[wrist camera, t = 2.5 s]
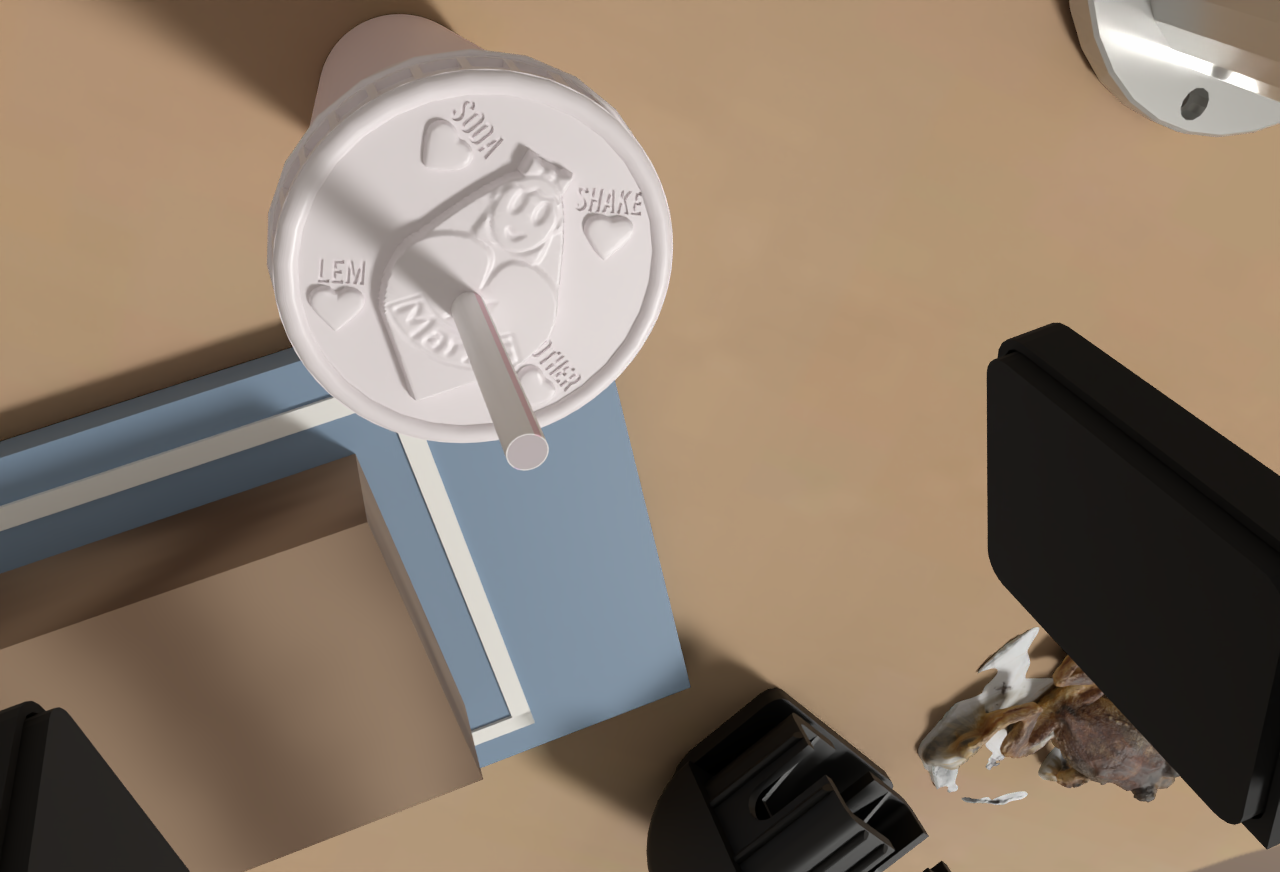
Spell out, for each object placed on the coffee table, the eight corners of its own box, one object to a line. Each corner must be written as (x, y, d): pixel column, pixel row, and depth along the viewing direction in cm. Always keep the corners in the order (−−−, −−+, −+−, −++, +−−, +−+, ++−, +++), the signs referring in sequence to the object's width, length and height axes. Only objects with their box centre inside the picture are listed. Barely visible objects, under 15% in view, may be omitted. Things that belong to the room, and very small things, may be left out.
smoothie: (204, 156, 24) (188, 538, 13) (334, -119, 22) (446, 57, 11) (459, 275, 28) (619, 660, 17) (593, 44, 26) (880, 306, 14)
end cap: (617, 796, 40) (678, 964, 35) (765, 675, 39) (851, 829, 34) (763, 882, 46) (834, 1037, 41) (895, 779, 45) (987, 924, 40)
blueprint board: (578, 254, 28) (588, 269, 28) (682, 670, 38) (691, 689, 37) (-240, 518, 26) (-254, 542, 25) (92, 896, 35) (89, 921, 34)
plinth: (355, 453, 29) (367, 521, 26) (464, 704, 34) (482, 779, 32) (-43, 587, 27) (-68, 673, 25) (142, 825, 33) (136, 913, 31)
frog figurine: (1226, 628, 47) (1294, 691, 44) (1040, 817, 51) (1092, 887, 48) (1071, 548, 41) (1138, 615, 38) (873, 769, 45) (921, 846, 42)
